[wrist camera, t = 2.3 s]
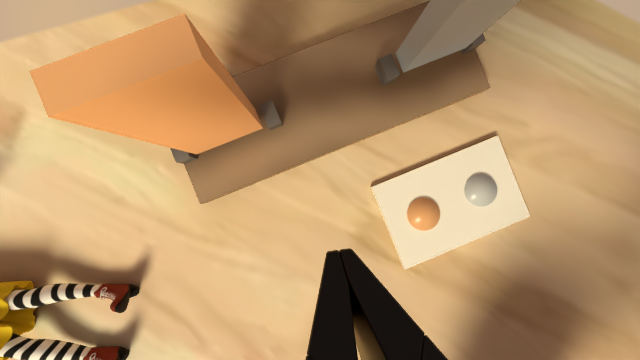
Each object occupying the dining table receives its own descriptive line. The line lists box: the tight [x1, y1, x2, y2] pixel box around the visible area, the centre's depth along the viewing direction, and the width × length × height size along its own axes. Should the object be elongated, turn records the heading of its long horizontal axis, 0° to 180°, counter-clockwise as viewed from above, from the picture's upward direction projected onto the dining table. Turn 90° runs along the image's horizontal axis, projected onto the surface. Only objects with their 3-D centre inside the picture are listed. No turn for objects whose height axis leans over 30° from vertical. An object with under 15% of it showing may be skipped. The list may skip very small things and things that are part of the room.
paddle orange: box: [30, 14, 263, 154], centre depth 14 cm, size 2×5×11 cm, turn 112°
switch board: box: [170, 1, 490, 204], centre depth 20 cm, size 8×24×2 cm, turn 112°
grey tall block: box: [395, 0, 520, 73], centre depth 14 cm, size 2×5×11 cm, turn 112°
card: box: [371, 136, 530, 269], centre depth 22 cm, size 7×11×1 cm, turn 112°
